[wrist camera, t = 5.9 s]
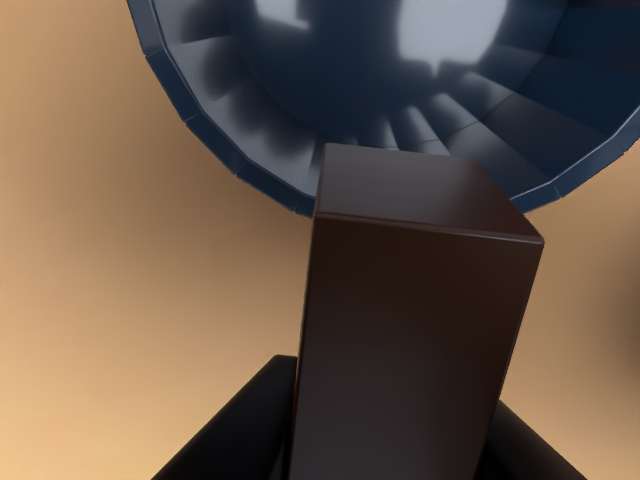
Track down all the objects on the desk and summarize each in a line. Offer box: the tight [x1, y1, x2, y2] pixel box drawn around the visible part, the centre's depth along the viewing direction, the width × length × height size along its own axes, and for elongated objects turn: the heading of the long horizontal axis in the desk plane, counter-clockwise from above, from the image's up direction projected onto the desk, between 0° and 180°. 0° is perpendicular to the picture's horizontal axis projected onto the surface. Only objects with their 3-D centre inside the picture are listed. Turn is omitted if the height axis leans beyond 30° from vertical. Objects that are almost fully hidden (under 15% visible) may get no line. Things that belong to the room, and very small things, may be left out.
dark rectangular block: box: [285, 143, 545, 480], centre depth 8 cm, size 7×2×3 cm, turn 174°
